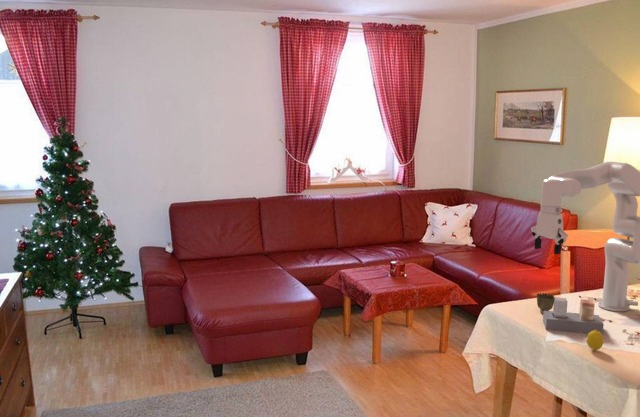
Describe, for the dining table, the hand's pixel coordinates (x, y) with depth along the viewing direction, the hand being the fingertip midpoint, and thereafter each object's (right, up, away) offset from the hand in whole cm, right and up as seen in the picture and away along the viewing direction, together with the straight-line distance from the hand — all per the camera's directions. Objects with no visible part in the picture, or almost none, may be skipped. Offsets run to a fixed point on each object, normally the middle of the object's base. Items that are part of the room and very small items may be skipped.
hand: (547, 251), depth 238 cm
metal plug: (+5, -31, 0) cm, 31 cm away
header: (+10, -31, -1) cm, 33 cm away
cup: (+6, -28, +17) cm, 34 cm away
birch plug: (+14, -31, -2) cm, 34 cm away
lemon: (+9, -35, -22) cm, 42 cm away
